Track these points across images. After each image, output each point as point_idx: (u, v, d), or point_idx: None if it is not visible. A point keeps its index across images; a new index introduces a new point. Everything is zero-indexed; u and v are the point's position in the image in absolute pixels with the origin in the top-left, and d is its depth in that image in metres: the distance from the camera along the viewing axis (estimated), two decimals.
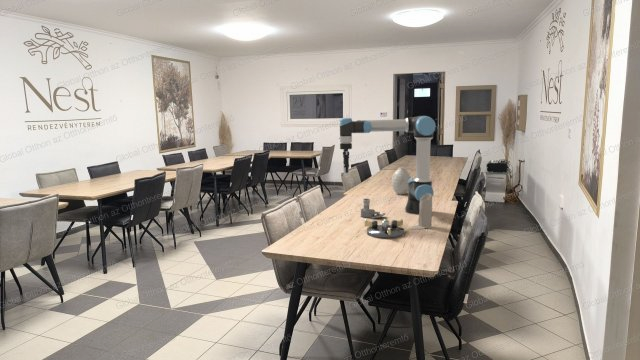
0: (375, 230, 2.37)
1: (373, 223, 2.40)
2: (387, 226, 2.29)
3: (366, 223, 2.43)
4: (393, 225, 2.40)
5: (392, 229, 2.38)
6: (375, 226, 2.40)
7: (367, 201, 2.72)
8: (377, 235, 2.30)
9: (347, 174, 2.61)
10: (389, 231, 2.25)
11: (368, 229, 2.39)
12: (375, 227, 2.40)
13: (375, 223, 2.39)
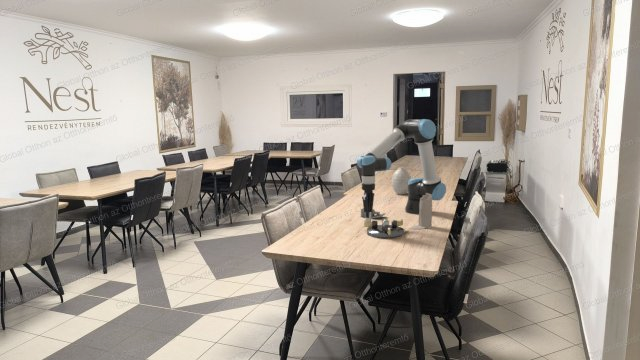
0: (375, 230, 2.37)
1: (374, 223, 2.39)
2: (387, 226, 2.29)
3: (366, 224, 2.41)
4: (393, 225, 2.40)
5: (392, 229, 2.38)
6: (376, 226, 2.40)
7: None
8: (377, 235, 2.30)
9: (368, 219, 2.42)
10: (389, 231, 2.25)
11: (368, 229, 2.39)
12: (376, 227, 2.40)
13: (376, 223, 2.39)
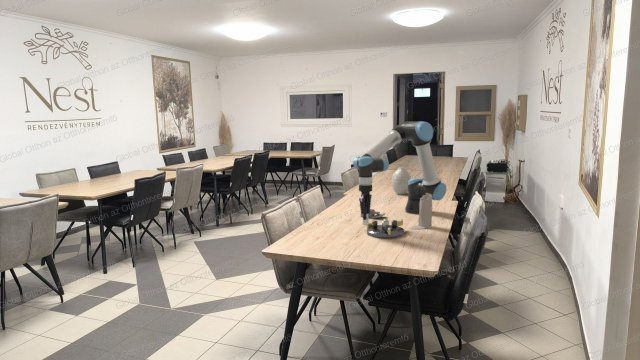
0: (375, 230, 2.37)
1: (376, 223, 2.40)
2: (387, 226, 2.29)
3: (369, 225, 2.37)
4: (393, 225, 2.40)
5: (392, 229, 2.38)
6: (377, 225, 2.41)
7: None
8: (377, 235, 2.30)
9: (365, 221, 2.38)
10: (389, 231, 2.25)
11: (368, 229, 2.39)
12: (377, 226, 2.41)
13: (377, 222, 2.40)
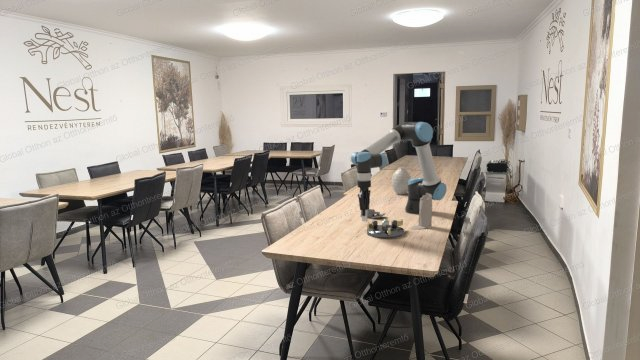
0: (375, 230, 2.37)
1: (376, 223, 2.40)
2: (387, 226, 2.29)
3: (370, 226, 2.37)
4: (393, 225, 2.40)
5: (392, 229, 2.38)
6: (377, 225, 2.41)
7: None
8: (377, 235, 2.30)
9: (364, 217, 2.36)
10: (389, 231, 2.25)
11: (368, 229, 2.39)
12: (377, 226, 2.41)
13: (377, 222, 2.41)
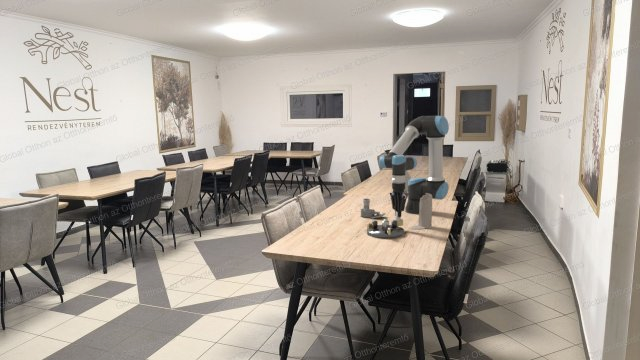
0: (375, 230, 2.37)
1: (376, 223, 2.40)
2: (387, 226, 2.29)
3: (370, 226, 2.37)
4: (393, 225, 2.40)
5: (392, 229, 2.38)
6: (377, 225, 2.41)
7: (367, 201, 2.72)
8: (377, 235, 2.30)
9: (399, 218, 2.43)
10: (389, 231, 2.25)
11: (368, 229, 2.39)
12: (377, 226, 2.41)
13: (377, 222, 2.41)
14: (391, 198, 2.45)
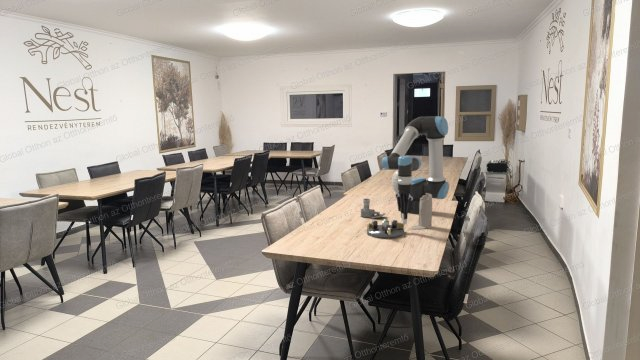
0: (375, 230, 2.37)
1: (376, 223, 2.40)
2: (387, 226, 2.29)
3: (370, 226, 2.37)
4: None
5: (392, 229, 2.38)
6: (377, 225, 2.41)
7: (367, 201, 2.72)
8: (377, 235, 2.30)
9: (405, 220, 2.39)
10: (389, 231, 2.25)
11: (368, 229, 2.39)
12: (377, 226, 2.41)
13: (377, 222, 2.41)
14: (397, 200, 2.41)
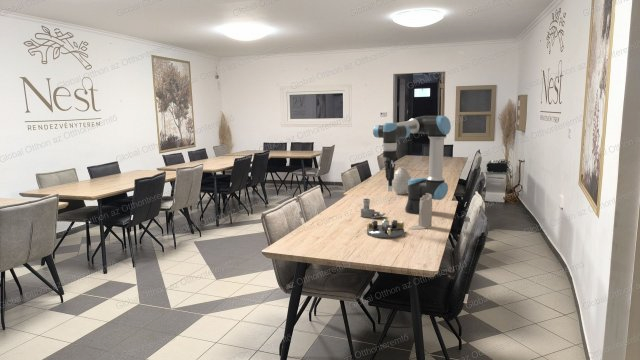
0: (375, 230, 2.37)
1: (376, 223, 2.40)
2: (387, 226, 2.29)
3: (370, 226, 2.37)
4: None
5: (392, 229, 2.38)
6: (377, 225, 2.41)
7: (367, 201, 2.72)
8: (377, 235, 2.30)
9: (390, 187, 2.40)
10: (389, 231, 2.25)
11: (368, 229, 2.39)
12: (377, 226, 2.41)
13: (377, 222, 2.41)
14: (385, 167, 2.44)
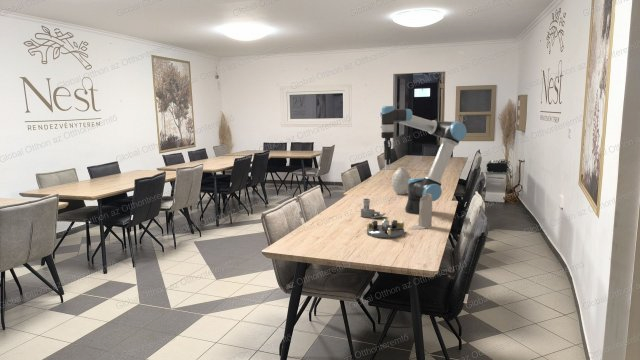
0: (375, 230, 2.37)
1: (376, 223, 2.40)
2: (387, 226, 2.29)
3: (370, 226, 2.37)
4: None
5: (392, 229, 2.38)
6: (377, 225, 2.41)
7: (367, 201, 2.72)
8: (377, 235, 2.30)
9: (388, 166, 2.59)
10: (389, 231, 2.25)
11: (368, 229, 2.39)
12: (377, 226, 2.41)
13: (377, 222, 2.41)
14: (384, 147, 2.62)
